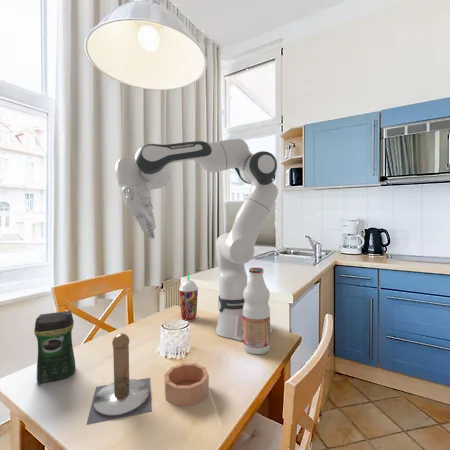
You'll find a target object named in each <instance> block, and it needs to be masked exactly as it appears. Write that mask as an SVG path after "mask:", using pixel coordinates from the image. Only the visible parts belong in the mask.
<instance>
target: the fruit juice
mask: <svg viewBox="0 0 450 450" xmlns="http://www.w3.org/2000/svg"><path fill="white" fill-rule="evenodd" d="M248 272H249V273H248V274H249V278H248V280H247V286H246V287H245V289H244V291H243V297H244V305H243V341H242V348H243V350H244V351H245V352H246V353H248V354H252V355H264V354H266V353H268V352H269V351H270V348H271V333H270V326H271V308H270V304H269V300H270V290H269V289H268V287H267V285H266V281H265V280H264V276H263V275H264V268H263V267H250V268H248Z"/></svg>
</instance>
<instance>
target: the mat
mask: <svg viewBox="0 0 450 450" xmlns="http://www.w3.org/2000/svg"><path fill="white" fill-rule="evenodd" d="M138 380H141V381H143V382H145V383H146V384H147V386H148V388H149V396H148V399H147V401H146V402H145V403H144V405H142V406H141V407H140V408H139V409H137V410H136V411H134V412H132V413H129V414H127V415H123V416H119V417H105V416H102V415H99V414H98V413H97V412H96V411H95V410H94V398H95V396H96V394H97V393H98V392H99V391H100V390H101V389H102V388H104V387H105V386H107V385H108V384H103V385H99V386H95V388H94V389H95V390H94V395H93V398H92V402H91V405H90V409H89V413H88V417H87V421H86V426H87V425H92V424H96V423H97V424H98V423H101V422H107V421H112V420H117V419H122V418H128V417H132V416H136V415H142V414H146V413H147V414H148V413H151V412H153V409H152V391H151V389H152V388H151V377H145V378H141V379H138Z"/></svg>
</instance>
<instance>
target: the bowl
mask: <svg viewBox="0 0 450 450" xmlns="http://www.w3.org/2000/svg"><path fill="white" fill-rule="evenodd" d="M163 375H164V376H163V377H164V396H165V400H166V401H167V402H168V403H170V404H173V405H174V406H175V407H191V406H193V405H196V404H199V403H200V402H203V401H204V400H205V398H206V397H207V395H208V393H209V387H210V386H209V385H210V383H209V380H210V379H209V376H210V375H209V372H208V371H207V368H206V367H205V366H203V365H200V364H198V363H196V362H194V363H190V362H189V363H187V362H186V363H185V362H183V363H180V364H177V365H175V366H172V367H170V368H169V369H168V370H167V371H166V372H165V373H164V374H163Z"/></svg>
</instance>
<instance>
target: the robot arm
mask: <svg viewBox="0 0 450 450" xmlns="http://www.w3.org/2000/svg"><path fill="white" fill-rule="evenodd" d="M187 161H195V162H197V163H199V165H200V166H201V168H202V169H203V170H205V171H207V172H208V173H219V172H222V171H223V172H224V171H226V170H227V171H228V170H231V169H234V171H236V174H237V175H238V177H239V180H241V181H242V182H243V183H245V184H249V185H251V186H250V189H249V193H248V194H247V196H246V198H245V199H244V201H243V203H242V204H241V206H240V208H239V209H238V211H237V212H236V215H235V219H234V222H233V225H232V228H231V230H230V232H224V233H222V234H221V235H219V236H218V237H217V238H216V241H215V250H216V258H217V268H218V274H219V275H218V279H219V295H218V300H217V308H218V317H217V319H218V320H217V323H216V324H217V325H216V328H215V332H216V334H217V335H219V336H220V337H223V338H225V339H227V338H228V339H233V340H235V341H239V342H241V341H242V342H243V305H244V297H243V291H244V289H245V287H246V286H247V284H248V274H247V272H246V268H245V264H246V263H248V262H250V261H251V260H252V258H253V257H254V255H255V254H254V253H255V246H256V241H257V239H258V237H259V232H260V231H261V228H262V226H263V225H264V223H265V221H266V219H267V217H268V215H269V214H270V213H271V211H272V208H273V206H274V205H275V202H276V199H277V197H278V194H279V190H278V186H277V185H276V183H274V181H275V180H276V177H277V176H276V175H277V173H276V172H277V169H278V161H277V158H276V157H275V155H274V154H272V153H271V152H269V151H264V150H263V151H262V150H261V151H258V152H255V153H252V152H251V151H250V148H249V146H248V144H247V142H246V141H245V140H244V139H242V138H229V139H225V140H224V139H223V140H219V141H218V140H217V141H214V142H207V141H202V140H196V141H195V140H194V141H193V140H192V141H186V142H185V141H183V142H176V143H170V144H169V143H168V144H162V143H161V144H158V143H147V144H144V145H142V146H141V147H140V148H139V149H138V150H137V151H136V153H135V156H131V155H126V156H123V157H121V158H120V159H118V161H116V164H115V168H114V169H115V171H114V172H115V175H116V180H117V184H118V186H119V187H120V189H121V196H122V199H123V202H124V205H125V208H126V209H128V210H129V212H130V215H131V216H132V217H133V218H134V219H135V220H136V221H137V223H138V225H139V227H140V230H141V232H143V233H145V232H147V234H148V238H149V239H150V240H153V239H155V238H156V236H155V233H154V230H155V229H156V227H157V226H156V221H155V216H154V213H153V204H152V198H151V196H150V195H151V194H150V193H149V191H150V190H156V189H161V188H163V187H165V186H166V185H167V184H168V182H169V177H170V174H169V167H168V166H169V165H170V164H175V163H180V162H187ZM272 333H273V328H272V326H271V325H270V334H272Z"/></svg>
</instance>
